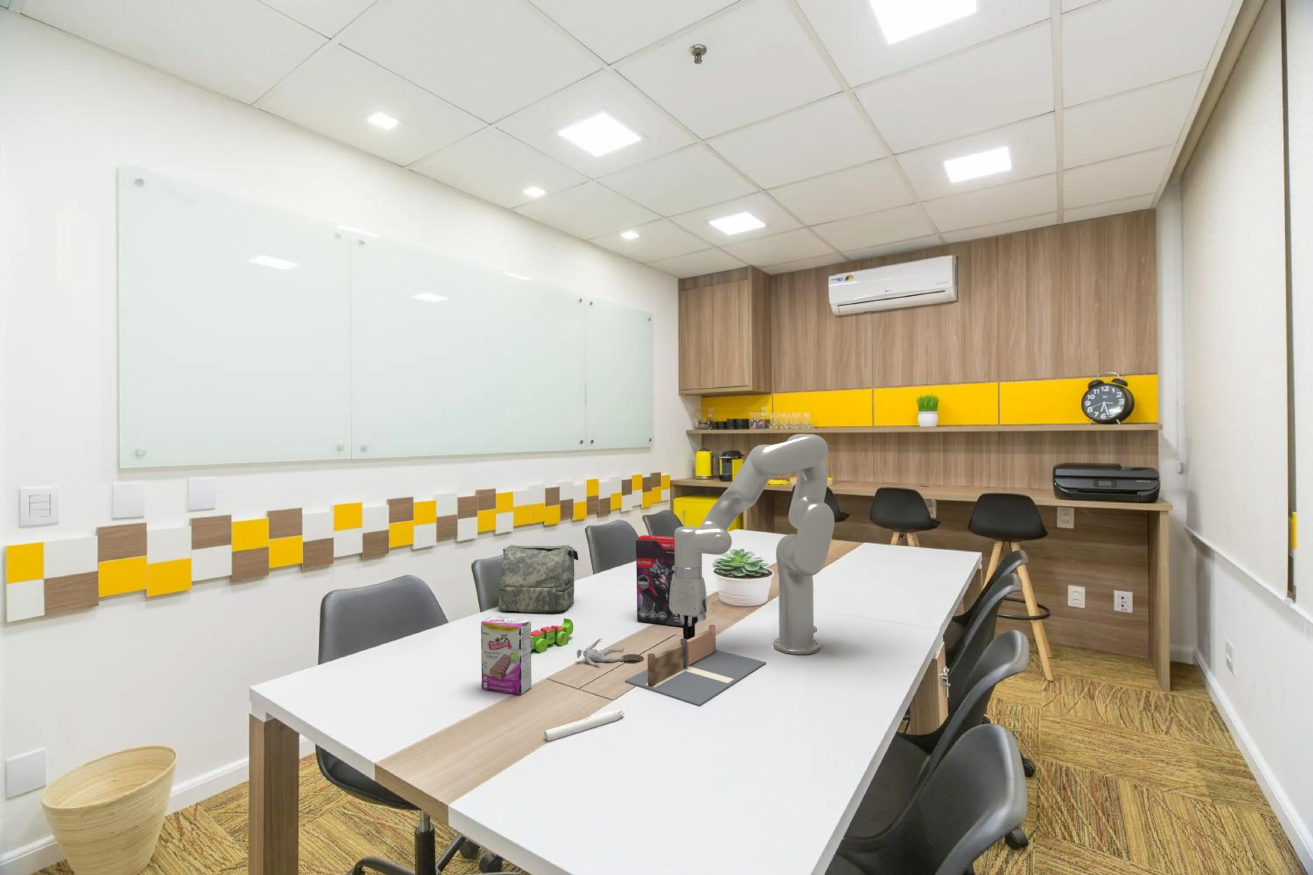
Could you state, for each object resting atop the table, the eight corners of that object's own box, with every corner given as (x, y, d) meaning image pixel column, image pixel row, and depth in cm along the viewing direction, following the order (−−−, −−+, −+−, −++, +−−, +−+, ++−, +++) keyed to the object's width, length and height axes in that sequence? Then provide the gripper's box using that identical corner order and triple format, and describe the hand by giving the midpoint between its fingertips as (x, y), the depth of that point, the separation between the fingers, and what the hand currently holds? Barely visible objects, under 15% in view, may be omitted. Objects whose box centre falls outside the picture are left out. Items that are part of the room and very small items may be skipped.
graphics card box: (635, 622, 195) (634, 537, 195) (643, 616, 201) (643, 534, 201) (685, 628, 188) (684, 540, 188) (692, 621, 194) (691, 537, 194)
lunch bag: (582, 601, 220) (581, 541, 220) (566, 615, 202) (565, 550, 202) (514, 598, 225) (513, 539, 224) (493, 612, 207) (492, 549, 206)
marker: (621, 715, 131) (621, 704, 131) (626, 719, 129) (626, 708, 129) (543, 739, 121) (543, 727, 121) (548, 743, 119) (547, 731, 119)
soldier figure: (623, 669, 158) (579, 660, 155) (616, 677, 161) (573, 668, 158) (625, 641, 164) (583, 632, 161) (618, 649, 167) (577, 640, 164)
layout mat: (696, 646, 172) (696, 644, 172) (766, 663, 159) (766, 661, 159) (624, 681, 148) (624, 680, 148) (699, 706, 134) (699, 704, 134)
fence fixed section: (682, 665, 156) (682, 637, 156) (688, 667, 155) (688, 639, 155) (646, 684, 145) (646, 654, 145) (652, 686, 144) (651, 656, 144)
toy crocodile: (523, 659, 164) (523, 636, 164) (509, 653, 168) (509, 631, 168) (580, 640, 178) (579, 619, 178) (565, 635, 183) (565, 615, 183)
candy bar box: (480, 690, 144) (479, 621, 144) (492, 682, 149) (491, 615, 149) (521, 696, 140) (520, 625, 140) (532, 687, 145) (531, 619, 145)
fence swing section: (689, 665, 156) (689, 638, 156) (684, 663, 157) (683, 636, 157) (717, 650, 166) (716, 625, 166) (711, 649, 167) (711, 624, 167)
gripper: (658, 570, 168) (659, 636, 168) (703, 578, 159) (703, 648, 159) (674, 566, 174) (675, 629, 174) (718, 573, 165) (719, 640, 165)
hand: (689, 638), depth 166 cm, fingers closed
